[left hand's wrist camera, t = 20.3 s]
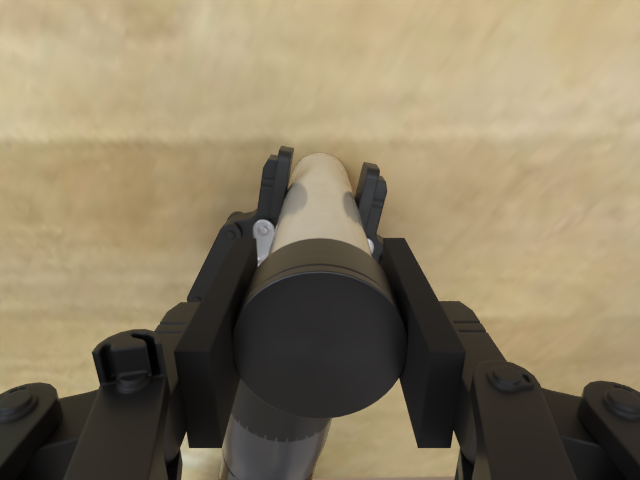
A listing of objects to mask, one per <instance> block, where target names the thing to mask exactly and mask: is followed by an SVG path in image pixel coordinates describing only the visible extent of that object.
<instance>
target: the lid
mask: <svg viewBox="0 0 640 480" xmlns="http://www.w3.org/2000/svg"><path fill="white" fill-rule="evenodd" d="M407 345H408V335H407V330H406V326H405V323H404V320H403V317H402V315H401V312H400V309H399V306H398V303H397V300H396V297H395V295H394V292H393V289H392V286H391V283H390V281H389V279H388V277H387V275H386V273H385V271H384V270H383V268H382V267H381V266H380V265H379V263H378V262H377V261H376V260H375V259H374V258H373V257H371V256H370V255H369V254H368V253H366V252H365V251H363V250H362V249H360V248H358V247H356V246H354V245H352V244H349V243H346V242H343V241H340V240H334V239H327V238H312V239H305V240H299V241H296V242H293V243H290V244H288V245H285V246H283V247H281V248H279V249H278V250H276V251H275V252H273V253H272V254H270V255H269V256H268V257H267V258H266V259H264V261H263V262H262V263H261V264H260V265H259V266H258V268H257V269H256V270H255V272H254V273H253V275H252V277H251V280H250V282H249V284H248V287H247V290H246V293H245V296H244V298H243V301H242V304H241V307H240V310H239V312H238V315H237V318H236V321H235V324H234V327H233V331H232V349H233V359H234V364H235V367H236V370H237V372H238V374H239V376H240V378H241V379H242V381H243V382H244V384H245V385H246V386H247V387H248V388H249V390H250V391H251V392H252V393H253V394H254V395H256V396H257V397H258V398H259V399H260V400H262V401H263V402H265V403H266V404H268V405H269V406H271V407H273V408H275V409H277V410H280V411H282V412H285V413H287V414H291V415H295V416H299V417H305V418H318V419H321V418H334V417H341V416H344V415H348V414H352V413H355V412H357V411H360V410H362V409H364V408H366V407H368V406H370V405H372V404H373V403H375V402H376V401H378V400H379V399H380V398H381V397H383V396H384V395H385V394H386V393H387V392H388V391H389V390H390V389H391V388H392V387H393V385H394V384H395V383H396V381H397V380H398V378H399V376H400V374H401V373H402V371H403V368H404V365H405V362H406V356H407Z"/></svg>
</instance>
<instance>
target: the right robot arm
mask: <svg viewBox="0 0 640 480" xmlns="http://www.w3.org/2000/svg"><path fill="white" fill-rule="evenodd" d="M293 152H294V148H290V147H285V146H281V148H280V150H279V153H278V156H276V155H271V156H270V157H269V159H268V161H267V162H266V164H265V166H264V167H263V173H262V180H261V188H260V195H259V202H258V209H257V210H255V211H253V212H248V213H242V212H233V213H232V214H231V215H230V216H229V218H228V220H227V222H226V223H225V224H224V225H223V227H222V228H221V230H220V232H219V234H218V236H217V238H216V240H215V242H214V244H213V246H212V248H211V250H210V252H209V254H208V256H207V258H206V260H205V262H204V264H203V266H202V268H201V270H200V272H199V274H198V276H197V278H196V280H195V282H194V285H193V287H192V289H191V291H190V293H189V295H188V297H187V302H201V300H202V299H203V297H204V295H205V293H206V291H207V289H208V288H209V286H210V284H211V282H212V280H213V278H214V277H215V275H216V273H217V271H218V269H219V267H220V266H221V264H222V262H223V260H224V258H225V256H226V255H227V253H228V251H229V249H230V247H231V245H232V244H233V242H234V240H235V238H256V240H257V256H258V266H259V265H260V264H261V263H262V262H263V261H264V259H266V258H267V255H268V251H269V248H270V245H271V242H272V238H273V235H274V232H275V229H276V225H277V222H278V219H279V216H280V212H281V209H282V206H283V202H284V199H285V196H286V193H287V188H288V182H289V176H290V170H291V164H292V158H293ZM379 173H380V170H379V168H378V166H377V165H376V164H371V163H366V162H364V163H363V166H362V170H361V174H360V178H359V183H358V187H357V191H356V196H355V201H356V204H357V207H358V210H359V214H360V217H361V220H362V224H363V227H364V230H365V233H366V237H367V240H368V243H369V247H370V250H371V253H372V256H373V258H374V259H375V260H376V261H377V262H378V263H379V265H380V266H381V267H382V252H383V238H382V237H380V236H379V235H377V234H376V232H377V228H378V224H379V220H380V217H381V213H382V208H383V205H384V201H385V197H386V194H387V187H386V181H385V180H384V178H383V177H382V176H379ZM331 420H332V418H321V419H318V418H305V417H299V416H295V415H291V414H287V413H285V412H282V411H280V410H277V409H275V408H273V407H271V406H269V405H268V404H266V403H265V402H263V401H262V400H260V399H259V398H258V397H257V396H256V395H254V394H253V393H252V392H251V391H250V390H249V388H248V387H247V386H246V385H245V384H244V382H243V381H242V379H241V378H240V382H239V385H238V389H237V393H236V397H235V400H234V404H233V408H232V411H231V415H230V419H229V423H228V426H227V430H226V434H225V437H224V441H223V451H222V458H221V465H220V471H219V478H218V480H312V478H313V474H314V470H315V467H316V463H317V460H318V458H319V456H320V454H321V452H322V449H323V447H324V444H325V441H326V438H327V435H328V431H329V427H330V423H331Z"/></svg>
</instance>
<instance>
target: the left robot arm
mask: <svg viewBox="0 0 640 480" xmlns="http://www.w3.org/2000/svg"><path fill="white" fill-rule="evenodd" d="M257 268H258V256H257V240H256V238H235V240H234V242H233V244H232V245H231V247H230V249H229V251H228V253H227V255H226V256H225V258H224V260H223V262H222V264H221V266H220V267H219V269H218V271H217V273H216V275H215V277H214V278H213V280H212V282H211V284H210V286H209V288H208V289H207V291H206V293H205V295H204V297H203V299H202V300H201V302H181V303H179V304H178V305H176V306H175V307H174V308H172V309H171V310H169V311H168V312H167V313H166V315H165V316H164V318H163V319H162V321H161V322H160V325H158V327H157V328H156V330H155V331H150V330H146V329H135V330H129V331H125V332H120V333H118V334H115V335H113V336H111V337H108V338H107V339H105V340H104V341H102V342H101V343H99V344H98V345H97V346H96V348H95V349H94V350H93V352H92V355H93V359H94V363H95V366H96V370H97V374H98V378H99V382H100V387H99V389H98V390H95V391H91V392H88V393H83V394H79V395H74V396H70V397H65V398H61V399H59V397H58V394H57V391H56V389H55V388H54V387H53V386H52V385H50V384H46V383H31V384H25V385H22V386H19V387H15V388H12V389H10V390H8V391H6V392H4V393H2V394H0V480H181V474H182V458H181V452H180V447H181V444H182V441H183V439H184V436H185V434H186V431H187V437H188V443H189V448H222V445H223V441H224V437H225V434H226V430H227V426H228V423H229V419H230V415H231V411H232V408H233V404H234V400H235V397H236V393H237V389H238V385H239V382H240V376H239V374H238V372H237V370H236V367H235V364H234V359H233V349H232V331H233V327H234V324H235V321H236V318H237V315H238V312H239V310H240V307H241V304H242V301H243V298H244V296H245V293H246V290H247V287H248V284H249V282H250V280H251V277H252V275H253V273H254V272H255V270H256V269H257ZM382 268H383V270H384V271H385V273H386V275H387V277H388V279H389V281H390V283H391V286H392V289H393V292H394V295H395V297H396V300H397V303H398V306H399V309H400V312H401V315H402V317H403V320H404V323H405V326H406V330H407V335H408V345H407V356H406V362H405V365H404V368H403V371H402V373H401V374H400V376H399V379H400V383H401V386H402V390H403V394H404V397H405V401H406V405H407V409H408V412H409V416H410V420H411V423H412V427H413V431H414V435H415V438H416V442H417V446H418V448H451V442H452V435H453V430H454V432H455V435H456V437H457V440H458V443H459V445H460V452H459V457H458V463H457V469H456V475H455V480H640V392H638V391H636V390H634V389H632V388H630V387H627V386H625V385H621V384H618V383H615V382H607V381H596V382H590V383H589V384H588V385H587V386H585V387H584V390H583V393H582V396H581V397H578V396H573V395H569V394H564V393H560V392H555V391H551V390H547V389H544V388H541V386H540V384H539V383H538V381H537V380H536V378H535V377H534V376H533V375H532V374H531V373H530V372H528V371H527V370H526V369H524V368H522V367H520V366H518V365H516V364H514V363H510V362H507V361H506V360H505V358H504V357H503V355H502V354H501V352H500V351H499V349H498V348H497V346H496V345H495V343H494V342H493V340H492V339H491V337H490V336H489V334H488V333H486V330H485V328H484V327H483V325H482V324H481V323H480V321H479V319H478V318H477V316H476V315H475V313H474V312H473V311H472V310H471V309H470V308H468V307H467V306H465V305H464V304H462V303H461V302H460V301H438V299H437V297H436V295H435V294H434V292H433V290H432V288H431V286H430V284H429V283H428V281H427V279H426V277H425V275H424V273H423V272H422V270H421V268H420V266H419V264H418V262H417V261H416V259H415V257H414V255H413V253H412V251H411V249H410V248H409V246H408V244H407V242H406V240H405V238H383V252H382Z"/></svg>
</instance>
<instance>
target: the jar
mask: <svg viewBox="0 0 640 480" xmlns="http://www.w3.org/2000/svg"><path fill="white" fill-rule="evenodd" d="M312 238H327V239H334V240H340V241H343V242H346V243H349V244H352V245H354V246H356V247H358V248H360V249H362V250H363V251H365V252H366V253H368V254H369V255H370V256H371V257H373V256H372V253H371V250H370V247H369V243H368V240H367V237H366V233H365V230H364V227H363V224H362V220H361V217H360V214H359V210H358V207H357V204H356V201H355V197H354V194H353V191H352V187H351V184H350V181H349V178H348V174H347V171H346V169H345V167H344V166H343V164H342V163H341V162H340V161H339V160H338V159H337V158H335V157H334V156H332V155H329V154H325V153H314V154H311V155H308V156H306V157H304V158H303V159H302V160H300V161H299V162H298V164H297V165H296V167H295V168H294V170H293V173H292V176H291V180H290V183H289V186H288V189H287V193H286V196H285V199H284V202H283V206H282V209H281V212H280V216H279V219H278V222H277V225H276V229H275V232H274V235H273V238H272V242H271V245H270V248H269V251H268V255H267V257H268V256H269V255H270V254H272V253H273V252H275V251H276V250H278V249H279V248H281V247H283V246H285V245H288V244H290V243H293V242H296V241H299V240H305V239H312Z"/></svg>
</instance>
